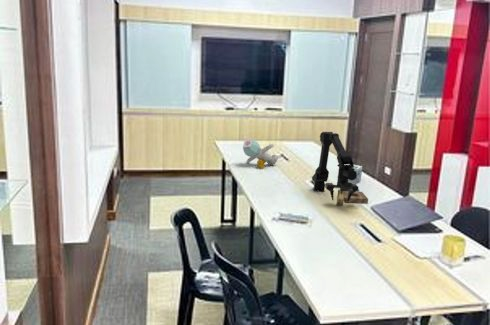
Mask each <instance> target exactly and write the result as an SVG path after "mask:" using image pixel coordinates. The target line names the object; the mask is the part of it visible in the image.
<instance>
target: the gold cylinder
mask: <svg viewBox="0 0 490 325" xmlns="http://www.w3.org/2000/svg"><path fill="white" fill-rule="evenodd" d="M344 194H345V191H341V190H340V188H338V189H337V196H336V204H335V205H336V206H340V207H342V206H344V203H345V202H344Z"/></svg>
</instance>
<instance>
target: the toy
mask: <svg viewBox="0 0 490 325" xmlns="http://www.w3.org/2000/svg"><path fill="white" fill-rule="evenodd" d="M274 147H275V145H274V143H271V142H270V143H269V144H268V145H267V146H265V147H263V148H261V147H260V144H259V142H258V141H256V140H254V138H245V139H244V142H243V146H242V150H243V152H244V155H246V156H247V157H248V158H247V160H246V164H250V163H251V162H252V161H254V160H256V159H257V160H256V164H257V167H258V168H261V170H264V168H265V167H266V165H265V164H266V163H267V164H268V165H270V166H274V165H276V163H277V162H278V160H279V159H278V158H279V157H278V156H279V155H276V154H271V153H270V152H268V151H269V150H271V149H272V148H274Z"/></svg>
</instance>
